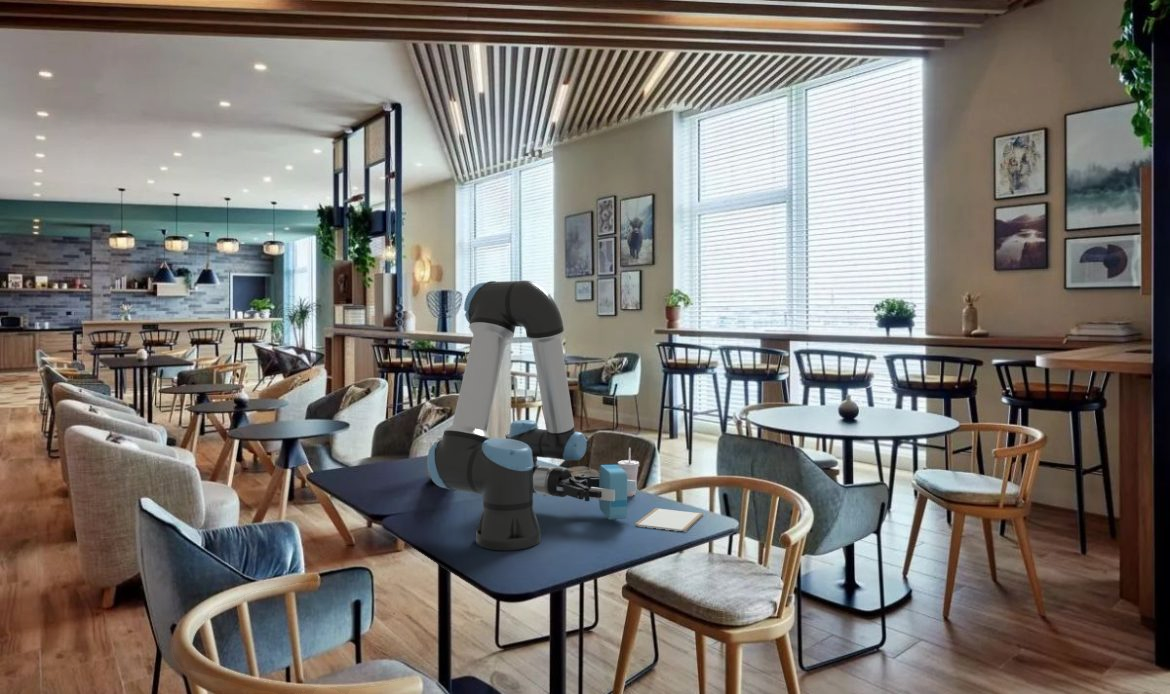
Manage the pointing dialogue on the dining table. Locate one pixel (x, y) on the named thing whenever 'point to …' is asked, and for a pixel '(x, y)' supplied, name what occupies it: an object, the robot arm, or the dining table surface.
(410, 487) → the dining table surface
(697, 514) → the mat
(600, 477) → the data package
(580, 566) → the dining table surface
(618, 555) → the dining table surface
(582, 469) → the flat brown rock
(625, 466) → the smoothie
